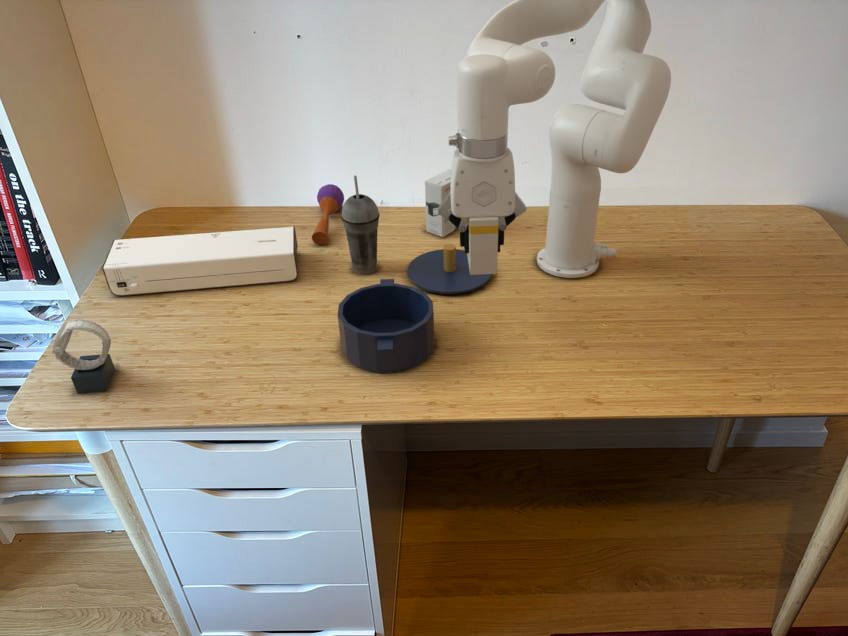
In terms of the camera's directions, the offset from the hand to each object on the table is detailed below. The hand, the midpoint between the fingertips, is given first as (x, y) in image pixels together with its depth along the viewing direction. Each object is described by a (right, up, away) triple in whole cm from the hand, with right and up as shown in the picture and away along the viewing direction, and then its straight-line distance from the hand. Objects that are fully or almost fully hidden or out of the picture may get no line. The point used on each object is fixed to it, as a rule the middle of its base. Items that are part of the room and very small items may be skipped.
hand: (481, 247), depth 120 cm
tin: (-16, -16, +3) cm, 23 cm away
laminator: (-53, -2, +20) cm, 57 cm away
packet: (0, -2, +2) cm, 3 cm away
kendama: (-34, +11, +38) cm, 52 cm away
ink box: (-8, +10, +38) cm, 40 cm away
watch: (-61, -22, -7) cm, 65 cm away
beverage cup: (-23, -1, +23) cm, 33 cm away
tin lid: (-6, -1, +21) cm, 22 cm away
